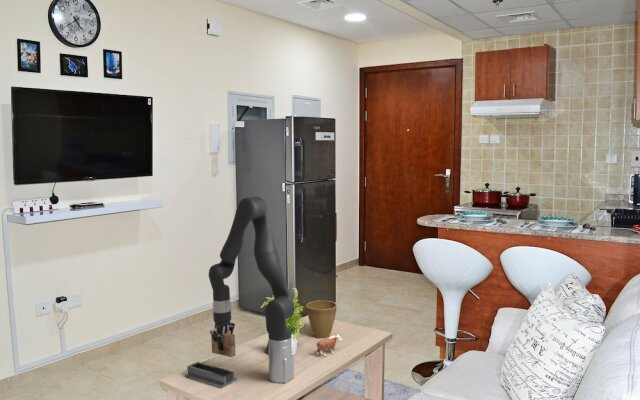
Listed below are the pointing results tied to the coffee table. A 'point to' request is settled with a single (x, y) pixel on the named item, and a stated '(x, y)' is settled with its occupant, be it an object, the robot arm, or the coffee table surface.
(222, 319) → the robot arm
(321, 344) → the bull figurine
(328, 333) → the plant pot
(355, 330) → the coffee table surface
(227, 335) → the door panel
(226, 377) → the bottom track
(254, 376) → the coffee table surface
